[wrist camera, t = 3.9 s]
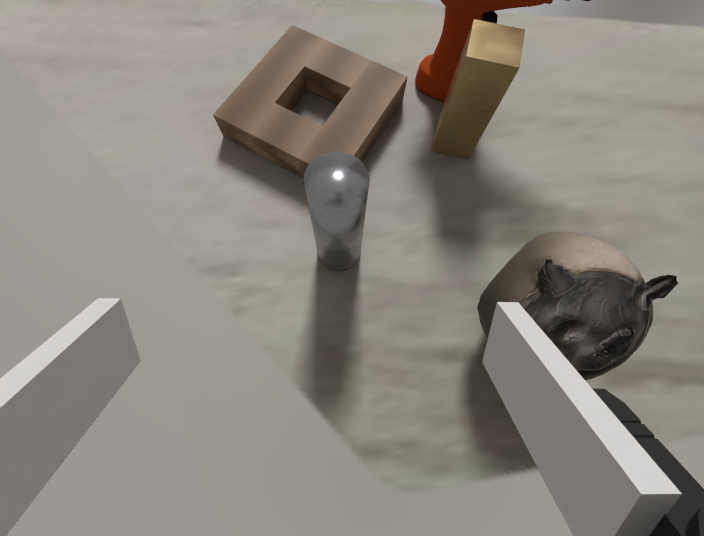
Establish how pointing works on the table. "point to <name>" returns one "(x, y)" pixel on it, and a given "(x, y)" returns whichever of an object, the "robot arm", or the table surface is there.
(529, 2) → the toy drill
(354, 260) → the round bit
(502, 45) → the light brown rectangular block
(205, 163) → the table surface
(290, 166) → the socket block
